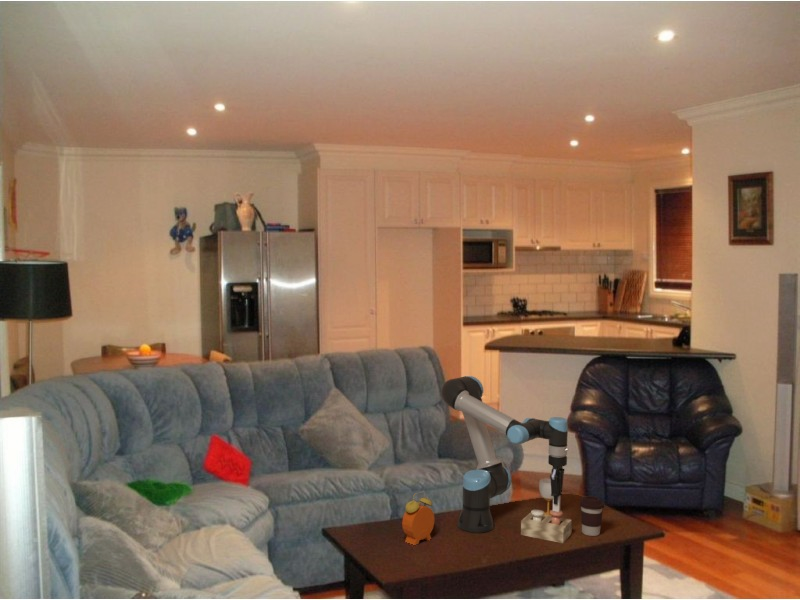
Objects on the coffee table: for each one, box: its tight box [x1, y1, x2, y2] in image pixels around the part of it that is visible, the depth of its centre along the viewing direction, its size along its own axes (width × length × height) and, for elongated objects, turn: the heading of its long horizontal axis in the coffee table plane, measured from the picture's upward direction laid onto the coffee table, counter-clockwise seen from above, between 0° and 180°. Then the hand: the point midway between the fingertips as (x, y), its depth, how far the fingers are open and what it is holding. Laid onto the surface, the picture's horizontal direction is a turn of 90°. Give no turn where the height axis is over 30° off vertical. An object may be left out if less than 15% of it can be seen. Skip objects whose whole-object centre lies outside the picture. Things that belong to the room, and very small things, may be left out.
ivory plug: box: [531, 509, 545, 521], centre depth 314 cm, size 5×5×8 cm
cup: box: [538, 477, 553, 516], centre depth 334 cm, size 9×9×16 cm
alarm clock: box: [401, 490, 436, 546], centre depth 302 cm, size 13×6×20 cm, turn 134°
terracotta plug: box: [549, 509, 563, 525], centre depth 310 cm, size 5×5×8 cm
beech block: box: [520, 512, 573, 544], centre depth 312 cm, size 18×12×6 cm, turn 61°
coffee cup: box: [579, 495, 605, 537], centre depth 314 cm, size 10×10×15 cm
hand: (556, 511), depth 310 cm, fingers closed
